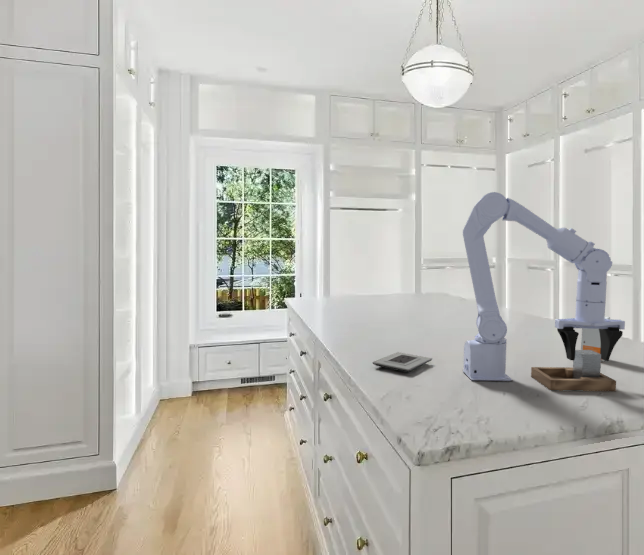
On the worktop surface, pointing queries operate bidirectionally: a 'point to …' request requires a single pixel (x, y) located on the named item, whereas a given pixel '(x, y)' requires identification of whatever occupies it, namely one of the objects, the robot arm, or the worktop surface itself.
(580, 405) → the worktop surface
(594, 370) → the metal peg
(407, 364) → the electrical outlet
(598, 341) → the skincare box
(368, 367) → the worktop surface
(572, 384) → the wooden tray
